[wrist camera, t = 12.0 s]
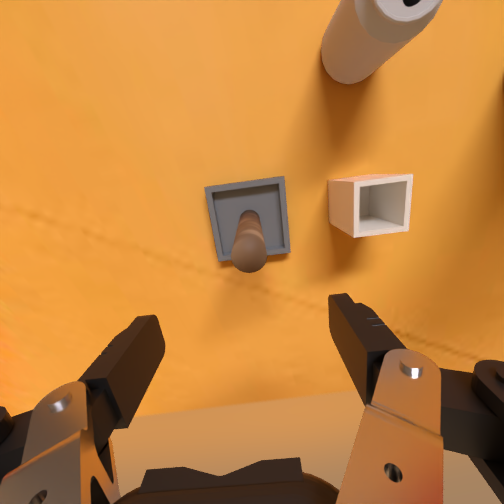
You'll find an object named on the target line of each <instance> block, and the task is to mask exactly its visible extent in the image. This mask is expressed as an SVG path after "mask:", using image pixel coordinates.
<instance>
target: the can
mask: <svg viewBox="0 0 504 504" xmlns="http://www.w3.org/2000/svg"><path fill="white" fill-rule="evenodd" d="M442 1H443V0H341V1H340V3H339V5H338V7H337V9H336V11H335V13H334V15H333V17H332V19H331V21H330V23H329V25H328V27H327V29H326V32H325V34H324V36H323V40H322V47H321V54H322V62H323V64H324V67H325V69H326V72H327V73H328V74H329V75H330V76H331V77H332V78H333V79H334V80H336V81H338V82H340V83H343V84H353V83H357V82H360V81H362V80H363V79H365V78H366V77H368V76H369V75H371V74H372V73H373V72H374V71H375V70H376V69H378V68H379V67H380V66H381V65H382V64H384V63H385V62H386V61H387V60H388V59H389V58H391V57H392V56H393V55H394V54H395V53H397V52H398V51H399V50H400V49H401V48H402V47H404V46H405V45H406V44H407V43H408V42H409V41H411V40H412V39H413V38H414V37H415V36H417V35H418V34H419V33H420V32H421V31H422V30H423V29H424V28H425V27H426V26H427V25H428V24H429V22H430V21H431V20H432V19H433V18H434V16H435V14H436V12H437V10H438V9H439V7H440V5H441V3H442Z"/></svg>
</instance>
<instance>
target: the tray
mask: <svg viewBox="0 0 504 504" xmlns="http://www.w3.org/2000/svg"><path fill="white" fill-rule="evenodd" d="M204 188H205V193H206V198H207V203H208V209H209V214H210V219H211V224H212V230H213V235H214V240H215V245H216V251H217V256H218V261H227V260H231V252H232V248H233V244H234V240H235V236H236V231H237V227H238V223H239V219H240V216H241V214H242V213H243V212H244V211H246V210H254V211H255V212H257V213H258V215H259V217H260V222H261V227H262V232H263V237H264V242H265V247H266V252H267V255H275V254H283V253H291V251H290V239H289V228H288V216H287V204H286V192H285V180H284V176H281V177H273V178H266V179H259V180H252V181H245V182H237V183H230V184H223V185H216V186H208V187H204Z"/></svg>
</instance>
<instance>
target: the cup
mask: <svg viewBox="0 0 504 504" xmlns="http://www.w3.org/2000/svg"><path fill="white" fill-rule="evenodd" d="M412 183H413V174H370V175H362V176H355V177H348V178H341V179H333V180H328V207H329V223H331V224H332V225H334V226H335V227H337V228H339V229H340V230H342V231H344V232H345V233H347V234H348V235H350V236H352V237H353V238H356V237H364V236H371V235H379V234H387V233H395V232H403V231H409V219H410V207H411V195H412Z"/></svg>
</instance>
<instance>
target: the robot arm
mask: <svg viewBox="0 0 504 504" xmlns="http://www.w3.org/2000/svg"><path fill="white" fill-rule="evenodd" d="M328 305H329V327H330V333H331V336H332V339H333V341H334V343H335V345H336V347H337V349H338V351H339V353H340V355H341V358H342V360H343V362H344V364H345V366H346V368H347V370H348V372H349V374H350V376H351V378H352V380H353V382H354V385H355V387H356V389H357V391H358V393H359V395H360V397H361V399H362V401H363V403H364V405H365V410H364V413H363V416H362V419H361V423H360V426H359V429H358V432H357V436H356V439H355V442H354V446H353V449H352V452H351V456H350V459H349V462H348V466H347V469H346V472H345V475H344V478H343V481H342V485H341V488H340V491H339V490H338V489H337V488H335V487H334V486H333V485H331V484H330V483H328V482H326V481H324V480H322V479H321V478H318V477H316V476H314V475H311V474H307V473H304V472H302V469H301V462H300V458H299V457H298V458H286V459H274V460H261V461H259V462H256V463H254V464H251V465H249V466H246V467H244V468H241V469H239V470H236V471H234V472H231V473H229V474H226V475H223V476H216V475H212V474H208V473H204V472H200V471H197V470H193V469H190V468H186V467H175V468H162V469H150V470H146V473H145V476H144V478H143V481H142V484H141V487H139V488H136V489H134V490H133V491H131V492H129V493H127V494H126V495H124V496H123V497H121V496H120V492H119V486H118V479H117V473H116V466H115V459H114V452H113V445H112V441H111V439H110V435H111V433H112V432H113V430H114V429H123V428H128V427H129V424H130V422H131V421H132V419H133V417H134V415H135V413H136V411H137V409H138V407H139V404H140V402H141V400H142V398H143V396H144V394H145V392H146V390H147V388H148V386H149V384H150V382H151V380H152V378H153V376H154V374H155V372H156V370H157V368H158V366H159V364H160V362H161V360H162V358H163V356H164V353H165V341H164V338H163V335H162V331H161V328H160V325H159V321H158V318H157V317H156V315H146V316H138V317H136V318H135V319H134V321H133V322H132V323H131V324H130V326H129V327H128V328H127V329H125V330H124V331H122V332H121V333H119V334H118V335H117V336H115V337H114V339H113V340H112V341H111V342H110V343H109V344H108V347H106V348H105V349H104V350H103V351H102V353H101V355H99V356H98V357H97V359H96V360H95V361H94V362H93V363H92V364H91V366H90V367H89V368H88V369H87V370H86V371H85V373H84V374H83V375H82V376H81V377H80V378H79V380H78V381H76V382H71V383H68V384H65V385H63V386H60V387H59V388H57V389H55V390H53V391H52V392H50V393H49V394H48V395H46V396H45V397H44V398H43V399H42V400H41V401H40V402H39V403H38V404H37V405H36V407H35V408H34V409H33V410H31V411H28V412H25V413H22V414H19V415H16V416H13V417H11V416H10V415H9V413H8V412H7V410H6V408H5V407H1V406H0V504H443V449H445V450H449V451H454V452H457V453H461V454H465V455H468V456H469V458H470V459H471V460H472V462H473V463H474V465H475V466H476V467H477V469H478V470H479V472H480V473H481V474H482V476H483V477H484V479H485V480H486V481H487V483H488V485H489V486H490V487H491V488H492V490H493V491H494V493H495V494H496V496H497V497H498V499H499V500H500V501H501V503H502V504H504V362H502V361H497V360H483V361H479V362H478V363H476V365H475V367H474V371H473V373H469V372H462V371H455V370H448V369H442V368H438V366H437V365H436V364H435V363H434V362H433V361H432V360H431V359H430V358H428V357H427V356H425V355H423V354H421V353H419V352H416V351H413V350H409V349H407V348H406V347H405V346H404V345H403V344H402V343H401V342H400V340H399V339H398V338H397V337H396V336H395V335H394V334H393V332H392V331H391V330H390V329H389V328H388V327H387V326H386V325H385V324H384V322H383V321H382V320H381V319H380V318H379V317H378V315H377V314H376V313H375V312H374V311H373V310H372V309H371V308H369V307H368V306H366V305H364V304H362V303H354V302H353V300H352V299H351V298H350V296H349V295H348V294H347V293H343V294H334V295H329V297H328Z"/></svg>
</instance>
